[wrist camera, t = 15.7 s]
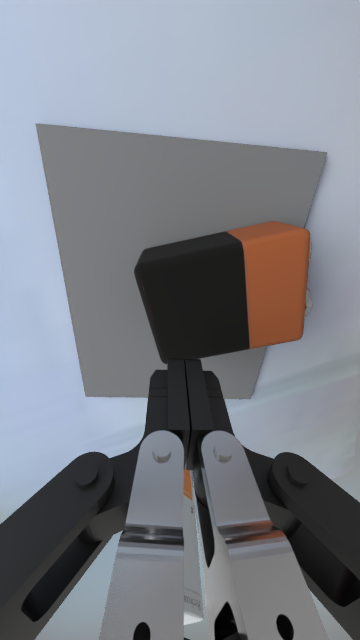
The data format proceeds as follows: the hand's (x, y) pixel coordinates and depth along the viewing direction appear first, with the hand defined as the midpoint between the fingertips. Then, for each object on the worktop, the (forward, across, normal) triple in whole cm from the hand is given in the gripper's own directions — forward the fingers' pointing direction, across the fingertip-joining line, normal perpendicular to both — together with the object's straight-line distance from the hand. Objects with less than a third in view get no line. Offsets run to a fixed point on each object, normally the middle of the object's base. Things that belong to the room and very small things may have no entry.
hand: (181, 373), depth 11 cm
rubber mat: (+8, 0, 0) cm, 8 cm away
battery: (+5, +2, -1) cm, 6 cm away
